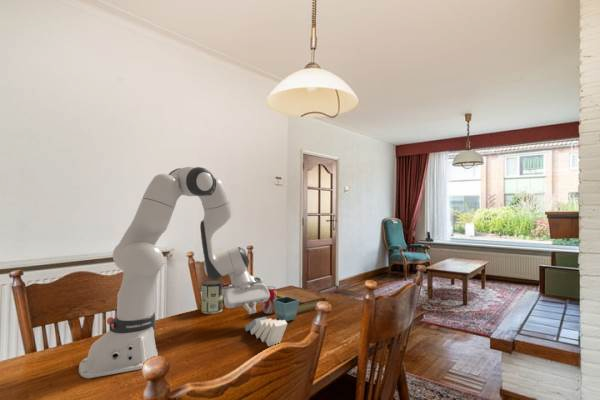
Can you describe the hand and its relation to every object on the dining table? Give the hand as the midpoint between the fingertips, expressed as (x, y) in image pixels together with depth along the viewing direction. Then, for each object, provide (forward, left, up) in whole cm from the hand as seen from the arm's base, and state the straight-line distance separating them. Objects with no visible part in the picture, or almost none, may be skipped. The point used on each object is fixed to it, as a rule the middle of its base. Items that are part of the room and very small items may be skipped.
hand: (252, 312), depth 134 cm
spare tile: (0, +1, -7) cm, 7 cm away
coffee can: (-4, +35, -8) cm, 36 cm away
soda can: (+18, +17, -8) cm, 26 cm away
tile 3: (0, -12, -7) cm, 13 cm away
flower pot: (+19, +4, -8) cm, 21 cm away
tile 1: (0, -3, -7) cm, 7 cm away
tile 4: (0, -16, -7) cm, 17 cm away
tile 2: (0, -8, -7) cm, 10 cm away
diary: (+37, +19, -8) cm, 42 cm away
